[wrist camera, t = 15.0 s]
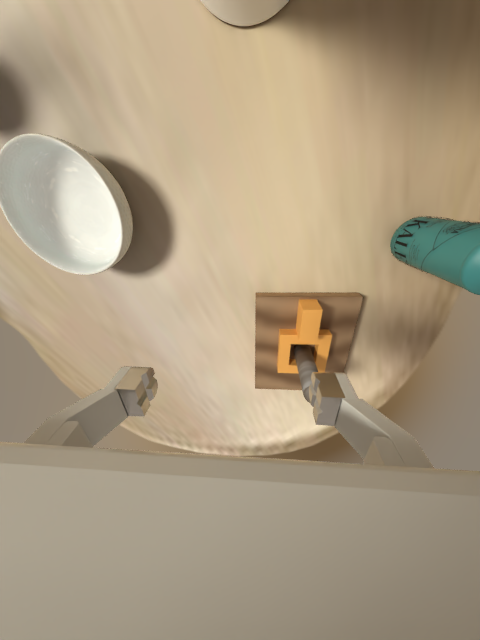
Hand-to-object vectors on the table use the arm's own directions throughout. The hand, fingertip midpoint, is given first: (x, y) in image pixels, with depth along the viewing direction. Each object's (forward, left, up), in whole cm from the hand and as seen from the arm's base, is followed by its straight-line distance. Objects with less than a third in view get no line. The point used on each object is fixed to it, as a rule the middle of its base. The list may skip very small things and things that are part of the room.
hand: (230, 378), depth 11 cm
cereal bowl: (-7, -25, -29) cm, 39 cm away
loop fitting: (+15, +10, -27) cm, 32 cm away
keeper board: (+18, +10, -29) cm, 36 cm away
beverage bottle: (-2, +24, -29) cm, 38 cm away
